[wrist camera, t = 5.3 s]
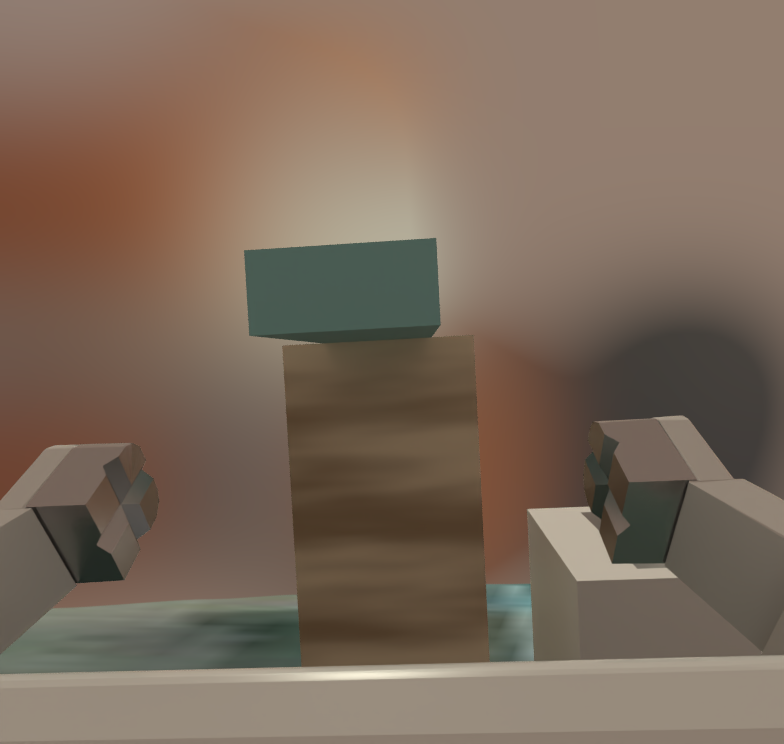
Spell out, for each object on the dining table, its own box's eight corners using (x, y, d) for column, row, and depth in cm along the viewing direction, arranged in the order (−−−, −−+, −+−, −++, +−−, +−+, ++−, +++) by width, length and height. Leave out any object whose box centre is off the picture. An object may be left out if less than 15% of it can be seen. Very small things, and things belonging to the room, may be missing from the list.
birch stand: (503, 942, 23) (473, 335, 23) (318, 941, 24) (282, 345, 23) (478, 765, 33) (456, 340, 32) (348, 767, 34) (323, 347, 33)
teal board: (440, 324, 13) (436, 237, 13) (249, 335, 13) (244, 250, 13) (425, 344, 41) (424, 317, 41) (365, 347, 41) (364, 320, 41)
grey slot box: (771, 969, 22) (758, 575, 21) (593, 968, 22) (576, 580, 22) (661, 776, 32) (650, 504, 31) (539, 777, 32) (527, 509, 32)
